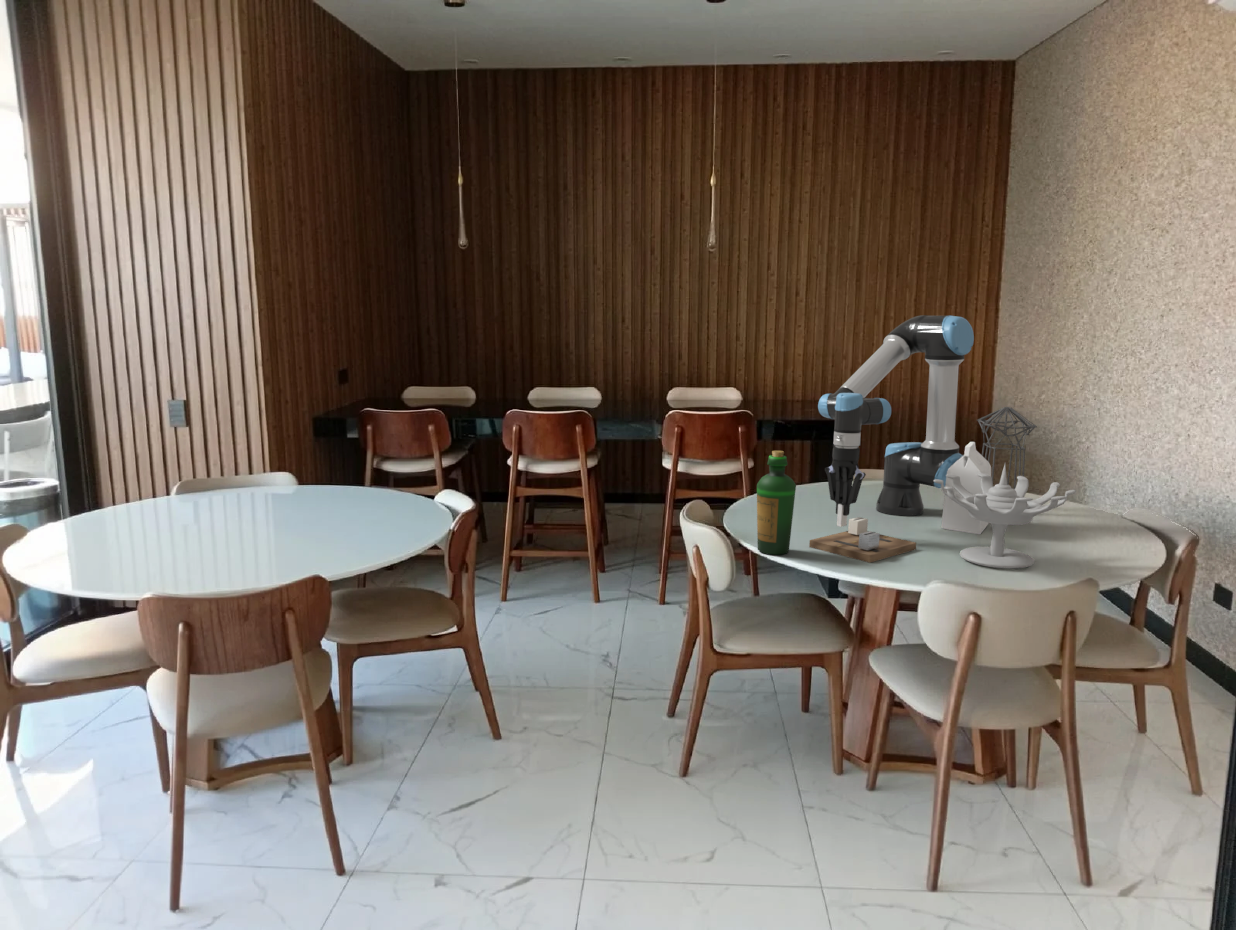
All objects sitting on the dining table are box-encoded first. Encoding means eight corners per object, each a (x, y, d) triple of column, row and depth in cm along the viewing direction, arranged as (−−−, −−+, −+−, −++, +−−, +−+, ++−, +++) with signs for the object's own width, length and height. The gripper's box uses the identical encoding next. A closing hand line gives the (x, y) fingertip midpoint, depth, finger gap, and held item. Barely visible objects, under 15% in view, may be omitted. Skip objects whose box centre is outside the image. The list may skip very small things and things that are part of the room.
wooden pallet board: (809, 546, 257) (809, 539, 257) (855, 535, 271) (856, 528, 271) (869, 562, 242) (870, 555, 242) (915, 549, 256) (916, 542, 256)
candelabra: (913, 565, 241) (921, 463, 236) (947, 538, 269) (955, 447, 265) (1054, 588, 222) (1066, 479, 217) (1075, 557, 251) (1085, 459, 246)
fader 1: (848, 532, 264) (848, 519, 263) (858, 530, 267) (859, 516, 267) (856, 534, 262) (857, 521, 261) (867, 532, 265) (868, 518, 264)
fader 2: (858, 548, 247) (859, 533, 247) (869, 545, 251) (870, 530, 250) (867, 550, 245) (868, 535, 244) (878, 547, 248) (879, 532, 248)
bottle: (751, 546, 257) (755, 448, 252) (789, 546, 257) (794, 448, 252) (756, 556, 247) (760, 454, 242) (795, 557, 246) (801, 455, 241)
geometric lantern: (968, 503, 318) (976, 403, 312) (1014, 505, 317) (1024, 405, 311) (981, 513, 303) (990, 409, 297) (1030, 515, 301) (1040, 410, 295)
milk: (952, 515, 291) (956, 437, 283) (990, 521, 284) (995, 441, 277) (941, 528, 281) (944, 447, 274) (980, 534, 275) (985, 451, 267)
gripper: (820, 444, 267) (815, 523, 271) (857, 450, 257) (852, 531, 261) (835, 442, 272) (831, 519, 276) (873, 448, 262) (867, 528, 266)
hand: (841, 525), depth 269 cm, fingers closed
